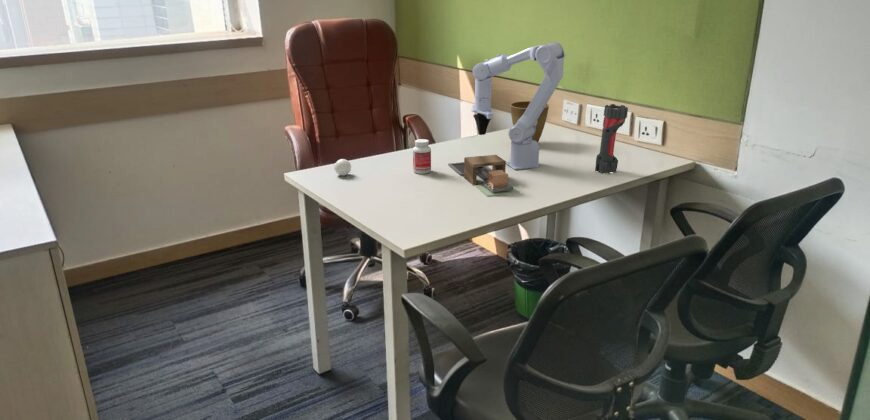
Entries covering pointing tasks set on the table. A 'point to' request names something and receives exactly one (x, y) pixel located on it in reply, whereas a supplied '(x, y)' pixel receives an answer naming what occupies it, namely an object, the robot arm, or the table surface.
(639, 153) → the table surface
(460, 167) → the grey flat square panel
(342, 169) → the white ball
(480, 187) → the pad
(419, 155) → the pill bottle
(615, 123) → the flashlight
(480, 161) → the tunnel
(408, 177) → the table surface
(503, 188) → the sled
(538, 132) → the plant pot
